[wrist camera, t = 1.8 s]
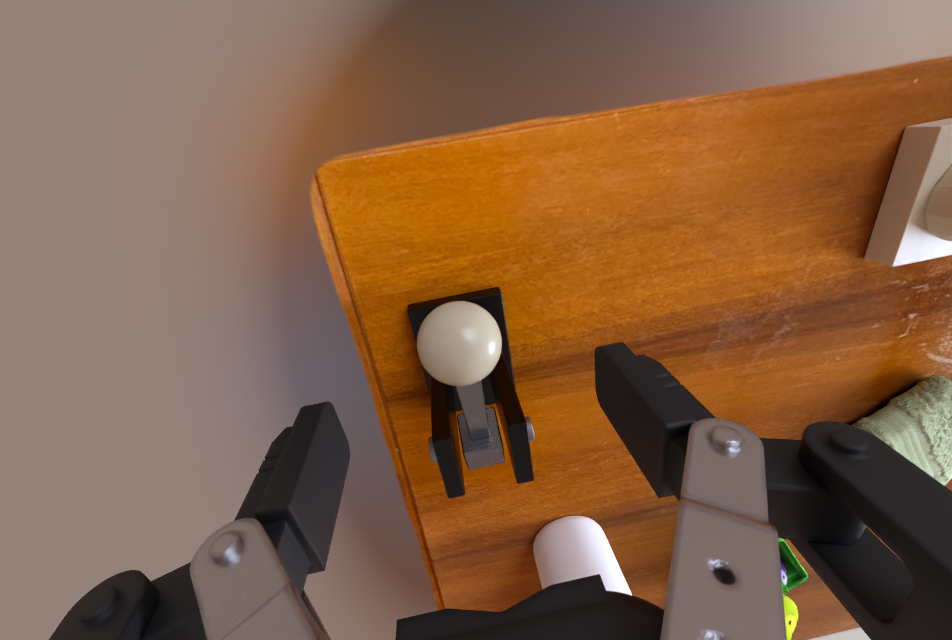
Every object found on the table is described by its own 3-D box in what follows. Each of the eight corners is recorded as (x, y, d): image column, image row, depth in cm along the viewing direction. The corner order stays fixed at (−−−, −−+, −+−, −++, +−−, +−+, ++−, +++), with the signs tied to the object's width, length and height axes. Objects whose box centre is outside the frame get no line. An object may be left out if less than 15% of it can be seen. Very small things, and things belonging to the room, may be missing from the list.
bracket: (407, 304, 29) (398, 404, 18) (498, 286, 29) (541, 375, 19) (435, 407, 34) (440, 534, 23) (513, 390, 34) (554, 509, 23)
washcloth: (862, 505, 49) (890, 529, 46) (816, 436, 41) (845, 459, 39) (968, 445, 46) (1004, 466, 43) (937, 359, 39) (978, 378, 36)
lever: (405, 292, 14) (411, 365, 12) (489, 275, 14) (509, 345, 12) (453, 428, 25) (461, 479, 23) (502, 417, 25) (514, 468, 23)
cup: (591, 503, 42) (638, 606, 33) (615, 561, 47) (661, 663, 38) (521, 530, 42) (547, 639, 33) (552, 584, 48) (582, 690, 39)
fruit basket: (776, 538, 49) (865, 642, 39) (714, 571, 51) (785, 679, 41) (746, 496, 45) (840, 602, 35) (679, 533, 46) (750, 646, 36)
